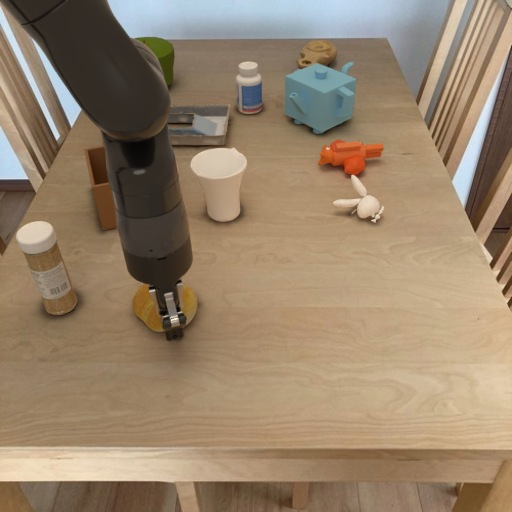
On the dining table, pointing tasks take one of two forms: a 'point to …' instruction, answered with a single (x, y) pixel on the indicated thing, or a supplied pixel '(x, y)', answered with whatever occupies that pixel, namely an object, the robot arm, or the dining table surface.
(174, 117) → the grey flat rectangular tray
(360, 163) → the orange toy bird
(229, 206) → the cup
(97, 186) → the box
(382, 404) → the dining table surface
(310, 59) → the oil lamp
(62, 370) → the dining table surface
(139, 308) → the bread roll
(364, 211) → the rabbit figurine
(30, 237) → the sprinkles bottle
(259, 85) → the pill bottle
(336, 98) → the teapot
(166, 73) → the green piece
